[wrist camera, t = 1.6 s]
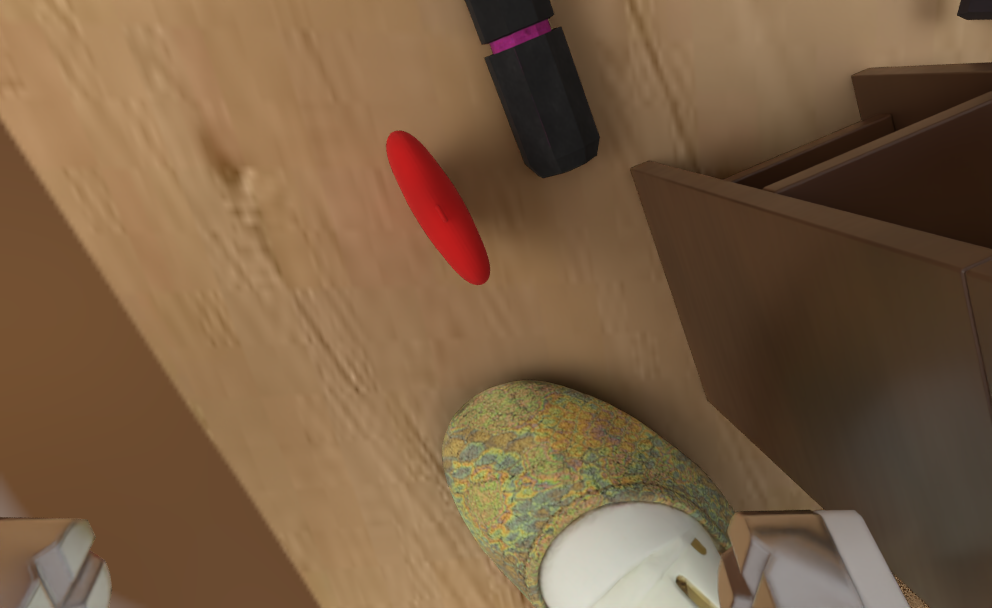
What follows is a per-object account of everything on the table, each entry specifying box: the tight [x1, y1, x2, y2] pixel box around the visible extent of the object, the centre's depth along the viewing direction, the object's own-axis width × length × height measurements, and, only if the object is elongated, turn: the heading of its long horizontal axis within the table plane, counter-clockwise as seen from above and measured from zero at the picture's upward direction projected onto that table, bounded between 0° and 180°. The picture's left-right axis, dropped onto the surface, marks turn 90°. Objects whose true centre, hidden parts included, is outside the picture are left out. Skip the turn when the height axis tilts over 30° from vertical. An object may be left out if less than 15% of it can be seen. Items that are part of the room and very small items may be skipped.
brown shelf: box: [631, 62, 992, 608], centre depth 22 cm, size 10×10×18 cm
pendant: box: [386, 131, 490, 285], centre depth 26 cm, size 5×2×5 cm, turn 30°
